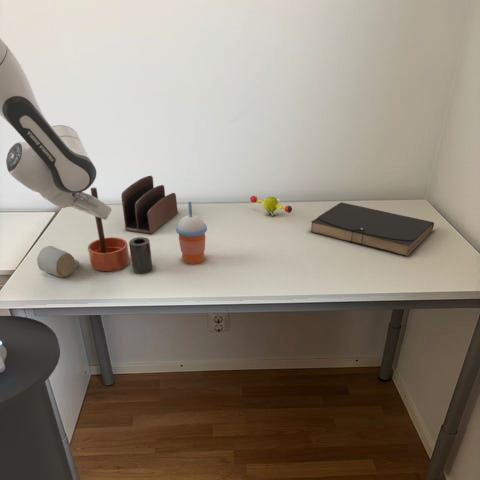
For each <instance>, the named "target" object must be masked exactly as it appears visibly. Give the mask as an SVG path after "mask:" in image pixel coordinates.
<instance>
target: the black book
mask: <svg viewBox="0 0 480 480" xmlns="http://www.w3.org/2000/svg"><path fill="white" fill-rule="evenodd" d="M310 223H311V224H310V233H313V234H317V235H321V236H325V237H330V238H333V239H337V240H341V241H344V242H349V243H351V244H352V243H353V244H357V245H360V246H364V247H367V248H368V247H369V248H373V249H376V250H381V251H384V252H388V253H393V254H396V255H401V256H405V257H409V255H410V254H411V253H412V252H413V251H414V250H415V249H417V247H418V246H419V245H420V244H421V243H422V242H423V241H424V240H425V239H426V238H427V237H428V236H429V235H430V234H431V233H432V231H433V229H434V226H435V222H434V221H429V220H425V219H421V218H416V217H412V216H406V215H403V214H397V213H394V212H393V213H392V212H389V211H384V210H379V209H374V208H370V207H364V206H360V205H356V204H351V203H347V202H343V201H342V202H341V201H340V202H339V203H338V204H336V205H333V206H332V207H331V208H330V209H328V210H326V211H324V212H323V213H321V214H320V215H318V216H317V217H316V218H315V219H313V220H311V221H310Z"/></svg>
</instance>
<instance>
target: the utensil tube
mask: <svg viewBox="0 0 480 480" xmlns="http://www.w3.org/2000/svg"><path fill="white" fill-rule="evenodd" d="M128 245H129V246H128V247H129V253H130V259H131V267H132V271H133V273H135V274H137V275H146V274H149V273H151V272H153V270H154V269H153V267H154V266H153V257H152V250H151V240H150V239H149V238H148V237H145V236H139V237H137V236H136V237H134V238H131V239H130V240H129V241H128Z"/></svg>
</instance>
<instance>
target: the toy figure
mask: <svg viewBox="0 0 480 480" xmlns="http://www.w3.org/2000/svg"><path fill="white" fill-rule="evenodd" d="M249 201H250V202H251V203H256V202H258V203H259V204H263V208H264V210H265V211H267V214H266V215H267V216H271V217H274V216H275V213H274V212H275V211H276V210H278V209H280V210H283V209H284V212H286V213H288V214H289V213H291V212H292V211H293V207H292V206H291V205H286V206H283V205H280V202H281V199H279V198H276V197H274V196H268V197H266V198H265V199H264V200H263V199H258V197H257V196H256V195H252V196H251V197H250V199H249Z"/></svg>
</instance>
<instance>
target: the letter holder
mask: <svg viewBox="0 0 480 480" xmlns="http://www.w3.org/2000/svg"><path fill="white" fill-rule="evenodd" d="M154 186H155V185H154V177H153V176H152V175H146V176H144V177H142V178H139V179H138V180H136V181H135V182H133V183H132V184H130V185H129V186H128V187H127V188H125V189H124V190H123V191H122V193H121V203H122V204H121V205H122V212H123V221H124V228H125V229H124V230H125V231H128V232H136V233H141V234H146V235H147V234H148V235H151V234H153V233H154V232H156V231H157V230H158V229H159V228H161V227H162V226H163V225H164V224H166V223H167V222H169V220H171V219H172V218H173V217H175V216H176V215H177V214H179V211H178V201H177V194H176V193H175V192H171V193H169V194H167V195H166V189H165V185H164V184H161V185H157V186H155V187H154Z"/></svg>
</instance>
